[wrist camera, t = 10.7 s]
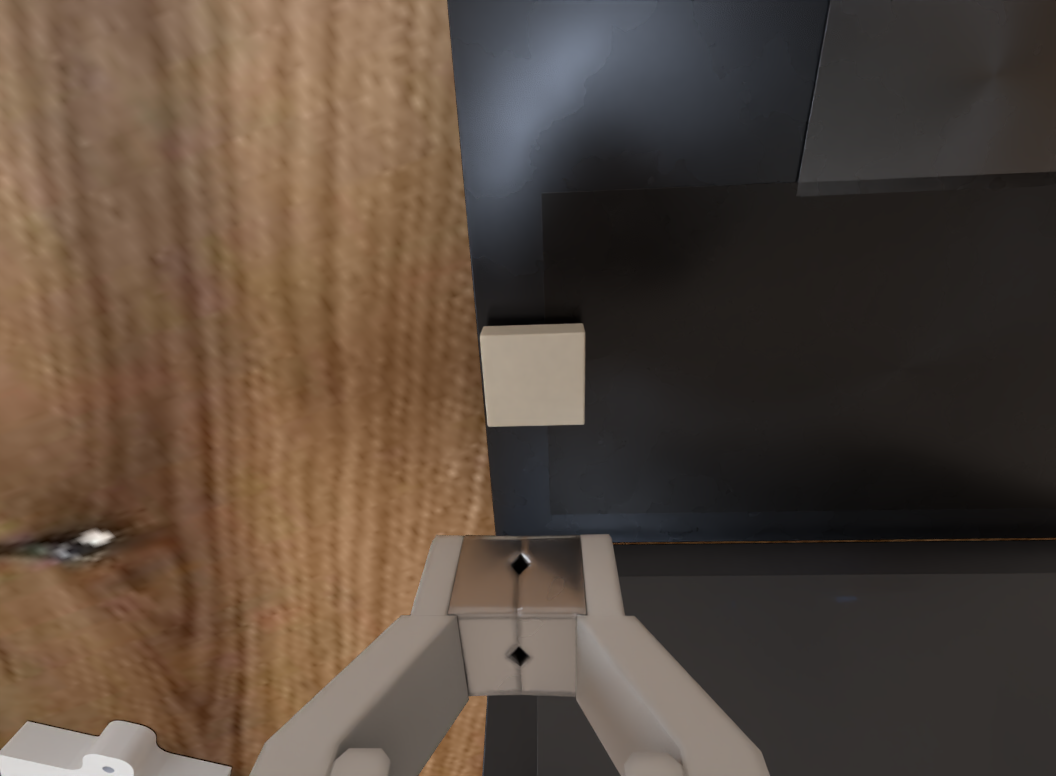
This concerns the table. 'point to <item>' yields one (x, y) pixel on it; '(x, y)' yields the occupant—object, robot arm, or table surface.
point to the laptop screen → (834, 657)
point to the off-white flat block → (534, 374)
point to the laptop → (771, 262)
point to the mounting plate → (96, 754)
